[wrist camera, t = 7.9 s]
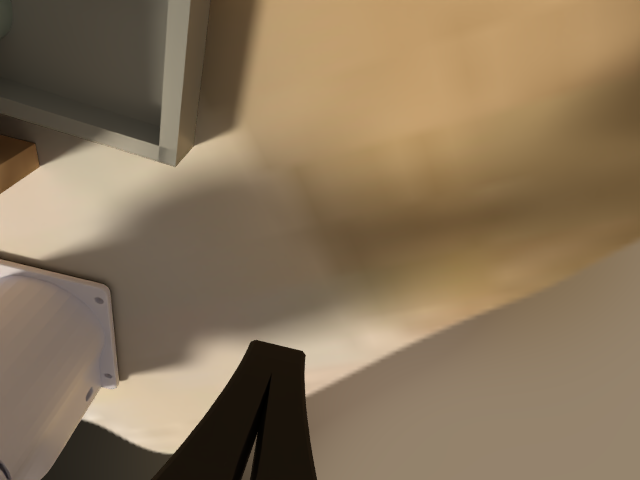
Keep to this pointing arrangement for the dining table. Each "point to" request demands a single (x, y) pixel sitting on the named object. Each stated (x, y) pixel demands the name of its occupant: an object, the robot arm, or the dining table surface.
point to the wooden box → (16, 160)
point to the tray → (106, 70)
